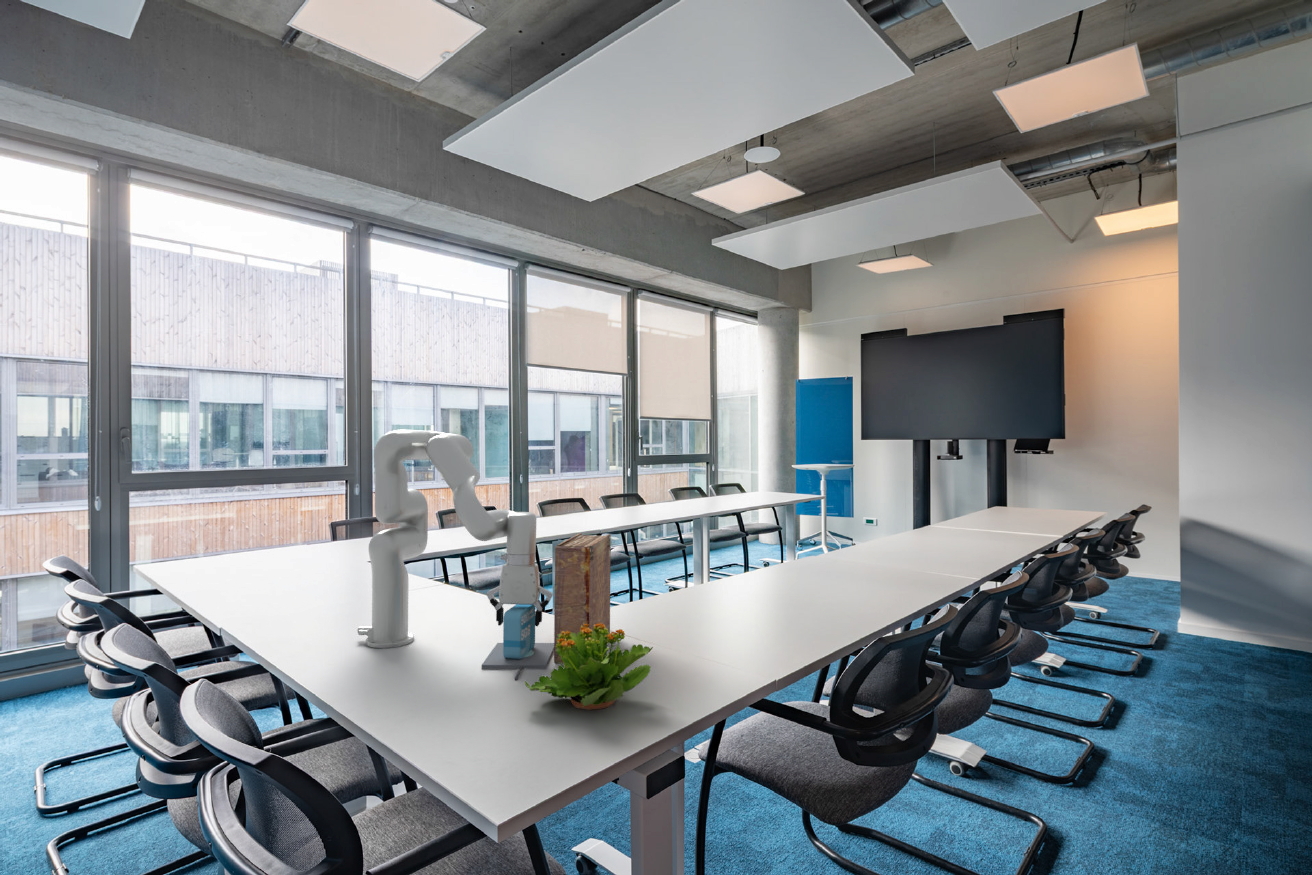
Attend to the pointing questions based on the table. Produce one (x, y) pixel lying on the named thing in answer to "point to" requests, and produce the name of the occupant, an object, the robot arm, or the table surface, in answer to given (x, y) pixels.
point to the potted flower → (593, 668)
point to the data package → (518, 631)
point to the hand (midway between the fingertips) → (519, 624)
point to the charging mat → (531, 660)
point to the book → (581, 584)
